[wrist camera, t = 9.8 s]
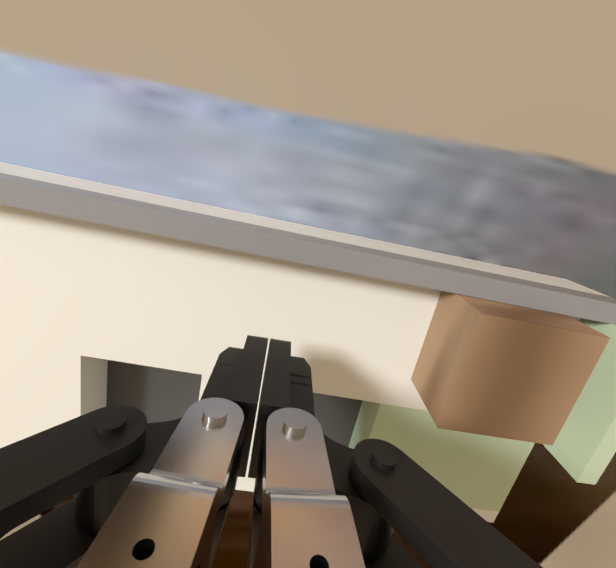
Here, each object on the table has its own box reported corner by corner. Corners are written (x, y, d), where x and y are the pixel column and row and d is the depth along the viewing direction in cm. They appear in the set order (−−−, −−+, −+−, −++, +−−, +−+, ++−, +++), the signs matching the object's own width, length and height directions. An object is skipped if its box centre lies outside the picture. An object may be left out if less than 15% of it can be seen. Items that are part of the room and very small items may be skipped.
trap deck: (565, 278, 16) (691, 329, 11) (470, 481, 20) (530, 589, 15) (-63, 149, 14) (-283, 135, 8) (-31, 411, 18) (-168, 512, 12)
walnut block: (546, 303, 14) (610, 337, 11) (505, 394, 15) (552, 445, 12) (443, 284, 14) (482, 314, 11) (410, 379, 15) (437, 428, 12)
